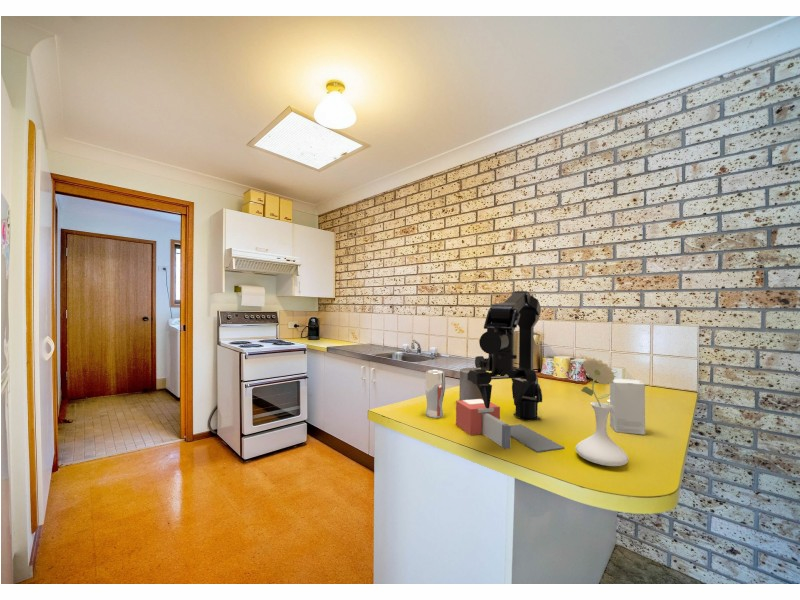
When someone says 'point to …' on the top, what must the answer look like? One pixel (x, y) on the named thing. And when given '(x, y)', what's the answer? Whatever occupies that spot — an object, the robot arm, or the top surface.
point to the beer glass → (434, 392)
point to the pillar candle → (468, 386)
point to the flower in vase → (600, 421)
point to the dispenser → (473, 414)
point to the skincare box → (627, 406)
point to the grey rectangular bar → (496, 430)
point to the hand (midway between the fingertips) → (501, 406)
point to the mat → (533, 439)
